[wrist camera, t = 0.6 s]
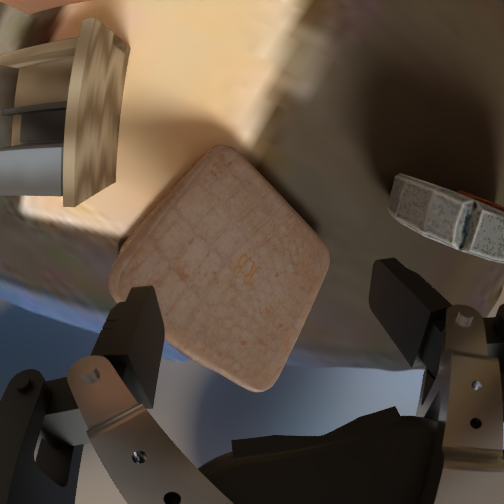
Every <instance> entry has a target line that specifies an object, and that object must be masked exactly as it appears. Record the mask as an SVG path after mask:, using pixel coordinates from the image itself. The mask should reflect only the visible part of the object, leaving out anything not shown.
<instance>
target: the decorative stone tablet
mask: <svg viewBox="0 0 504 504" xmlns="http://www.w3.org/2000/svg"><path fill="white" fill-rule="evenodd" d="M387 210H388V212H389V214H390V215H391V216H393V217H394V218H395V219H396V220H397V221H398V222H399V223H401V224H403V225H405V226H407V227H409V228H410V229H412V230H414V231H416V232H417V233H419V234H421V235H423V236H425V237H427V238H430V239H433V240H435V241H438V242H440V243H443V244H445V245H447V246H450V247H452V248H455V249H457V250H460V251H463V252H466V253H469V254H472V255H475V256H478V257H481V258H484V259H487V260H490V261H495V262H499V263H504V207H502V206H500V205H498V204H495V203H493V202H491V201H488V200H486V199H483V198H480V197H478V196H475V195H473V194H470V193H467V192H465V191H462V190H458V191H457V192H455V191H452V190H450V189H447V188H444V187H441V186H438V185H436V184H433V183H430V182H427V181H424V180H421V179H417V178H414V177H411V176H408V175H404V174H401V173H399V174H398V175H396V176H395V178H394V182H393V186H392V191H391V195H390V199H389V203H388V207H387Z"/></svg>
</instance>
